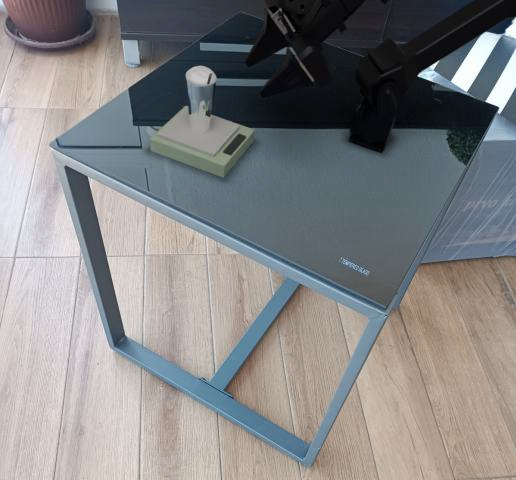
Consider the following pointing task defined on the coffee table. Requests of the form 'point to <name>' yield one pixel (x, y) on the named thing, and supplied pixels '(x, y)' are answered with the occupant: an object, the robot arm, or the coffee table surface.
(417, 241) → the coffee table surface
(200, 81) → the milkshake
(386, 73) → the robot arm
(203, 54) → the coffee table surface
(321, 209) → the coffee table surface
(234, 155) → the scale
